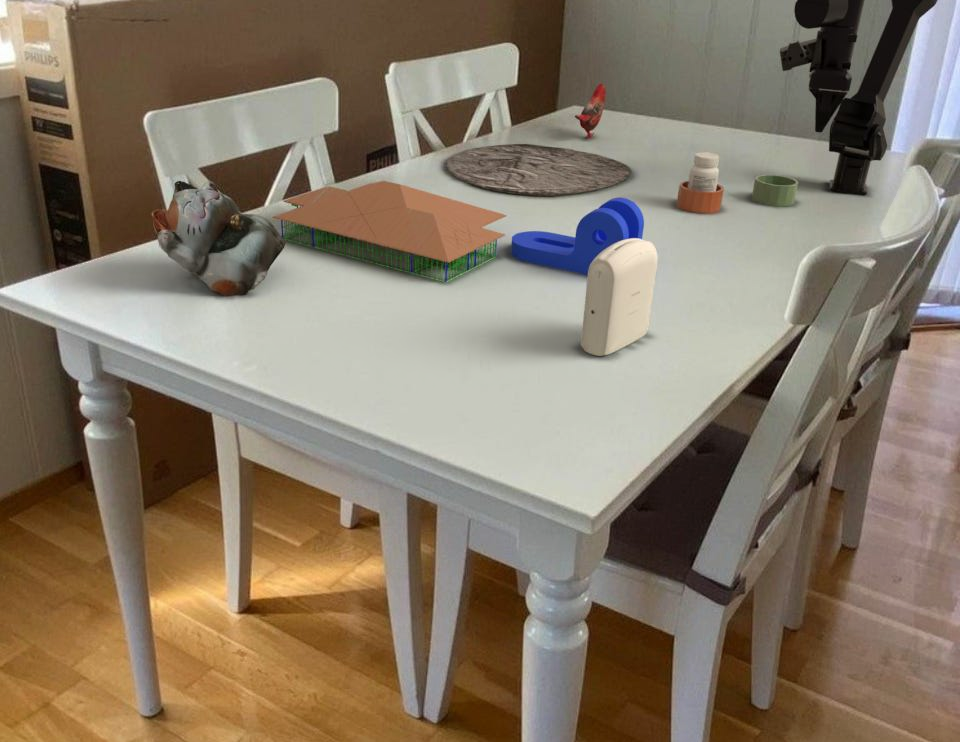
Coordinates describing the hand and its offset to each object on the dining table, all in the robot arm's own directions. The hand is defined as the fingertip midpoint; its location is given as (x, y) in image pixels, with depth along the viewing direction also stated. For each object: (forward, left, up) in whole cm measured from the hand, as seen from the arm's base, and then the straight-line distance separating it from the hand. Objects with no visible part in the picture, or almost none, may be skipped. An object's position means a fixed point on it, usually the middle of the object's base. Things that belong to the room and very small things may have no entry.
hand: (818, 126), depth 171 cm
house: (+47, -58, -13) cm, 76 cm away
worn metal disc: (-1, -48, -13) cm, 50 cm away
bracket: (+46, -32, -13) cm, 57 cm away
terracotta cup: (+10, -17, -13) cm, 24 cm away
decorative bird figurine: (-30, -44, -13) cm, 55 cm away
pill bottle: (+10, -17, -13) cm, 24 cm away
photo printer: (+73, -21, -13) cm, 77 cm away
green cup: (0, -5, -13) cm, 14 cm away
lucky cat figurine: (+72, -73, -13) cm, 103 cm away
